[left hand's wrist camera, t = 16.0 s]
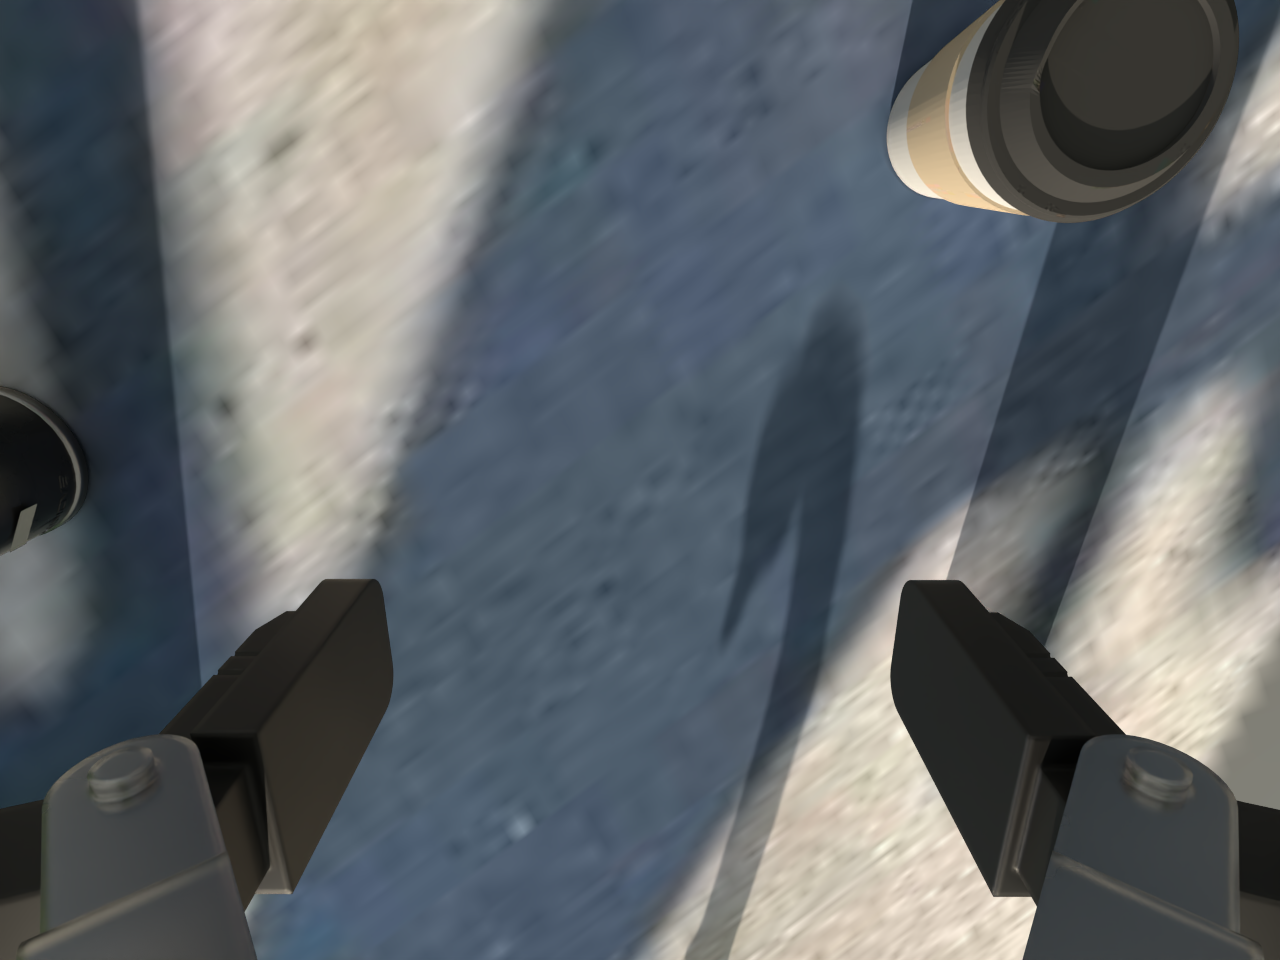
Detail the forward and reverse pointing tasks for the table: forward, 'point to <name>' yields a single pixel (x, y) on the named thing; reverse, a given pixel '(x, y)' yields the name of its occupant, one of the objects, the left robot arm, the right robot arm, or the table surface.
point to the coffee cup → (1065, 105)
